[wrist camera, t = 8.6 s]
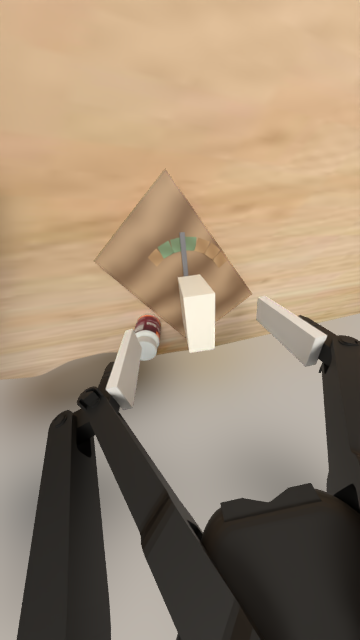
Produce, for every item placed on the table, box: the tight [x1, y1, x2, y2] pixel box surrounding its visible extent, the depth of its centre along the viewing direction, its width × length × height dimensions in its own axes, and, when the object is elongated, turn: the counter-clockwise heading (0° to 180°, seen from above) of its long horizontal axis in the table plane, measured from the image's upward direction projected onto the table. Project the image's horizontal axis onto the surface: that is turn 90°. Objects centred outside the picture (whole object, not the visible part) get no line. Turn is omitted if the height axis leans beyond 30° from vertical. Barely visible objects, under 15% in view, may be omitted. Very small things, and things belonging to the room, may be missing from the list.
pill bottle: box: [134, 314, 160, 361], centre depth 27 cm, size 5×5×8 cm
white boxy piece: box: [178, 232, 215, 353], centre depth 19 cm, size 3×12×11 cm, turn 7°
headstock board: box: [94, 169, 252, 338], centre depth 25 cm, size 22×15×2 cm
